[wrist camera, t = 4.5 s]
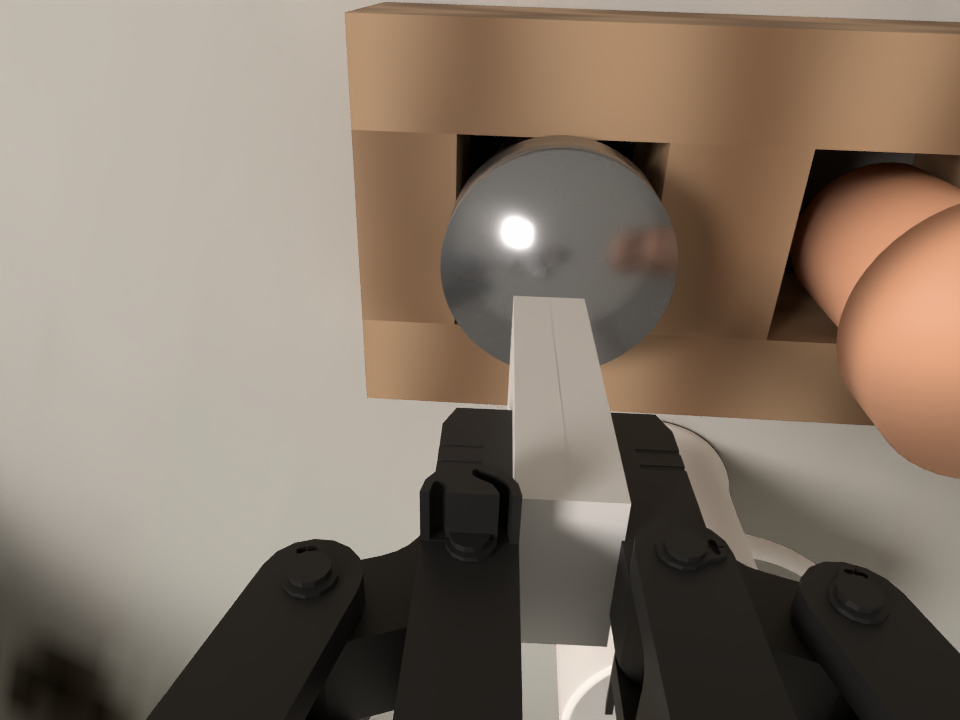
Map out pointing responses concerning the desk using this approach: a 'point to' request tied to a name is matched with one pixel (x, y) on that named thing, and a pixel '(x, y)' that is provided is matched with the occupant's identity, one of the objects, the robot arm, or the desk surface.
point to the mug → (591, 665)
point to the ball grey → (559, 242)
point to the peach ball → (892, 301)
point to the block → (660, 157)
